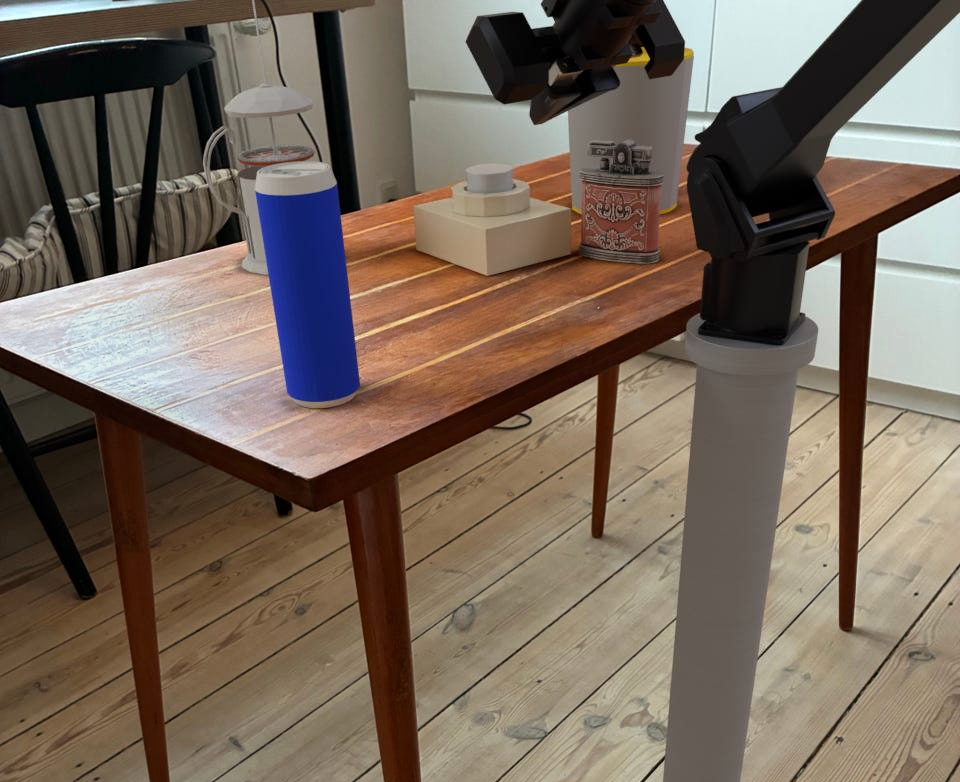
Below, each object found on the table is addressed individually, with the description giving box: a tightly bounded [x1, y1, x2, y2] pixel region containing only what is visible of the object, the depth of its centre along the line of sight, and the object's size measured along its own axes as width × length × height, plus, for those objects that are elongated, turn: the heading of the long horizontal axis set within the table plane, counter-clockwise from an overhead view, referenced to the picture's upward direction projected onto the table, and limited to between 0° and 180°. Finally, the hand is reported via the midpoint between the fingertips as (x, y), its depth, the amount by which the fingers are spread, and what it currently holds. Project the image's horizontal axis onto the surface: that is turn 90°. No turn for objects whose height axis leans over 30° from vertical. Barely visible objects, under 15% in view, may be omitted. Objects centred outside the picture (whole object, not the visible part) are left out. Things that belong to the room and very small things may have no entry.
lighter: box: [578, 140, 664, 265], centre depth 95 cm, size 8×3×10 cm, turn 58°
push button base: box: [412, 178, 572, 277], centre depth 100 cm, size 12×10×6 cm
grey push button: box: [465, 163, 514, 194], centre depth 97 cm, size 4×4×2 cm
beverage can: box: [255, 160, 361, 409], centre depth 69 cm, size 5×5×15 cm
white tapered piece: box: [567, 47, 695, 215], centre depth 108 cm, size 13×13×21 cm
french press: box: [202, 0, 315, 276], centre depth 94 cm, size 10×12×25 cm
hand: (534, 120), depth 89 cm, fingers closed
